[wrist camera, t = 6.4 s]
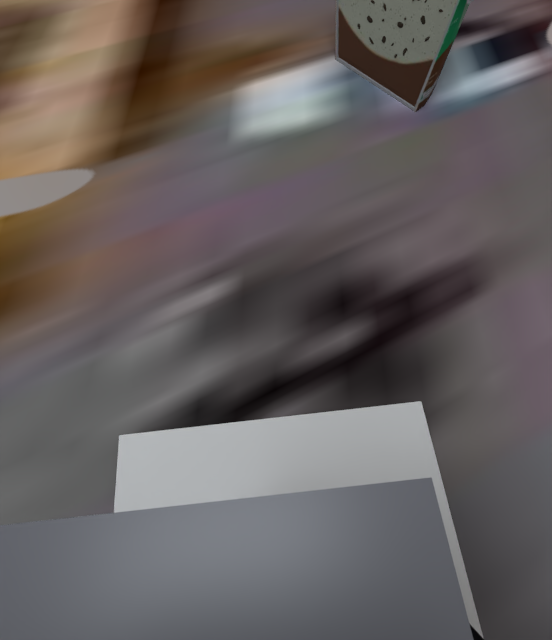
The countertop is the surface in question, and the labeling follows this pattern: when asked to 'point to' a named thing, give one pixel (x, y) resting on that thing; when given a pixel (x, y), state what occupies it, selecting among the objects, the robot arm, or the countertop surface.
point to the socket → (284, 462)
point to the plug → (239, 570)
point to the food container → (398, 43)
